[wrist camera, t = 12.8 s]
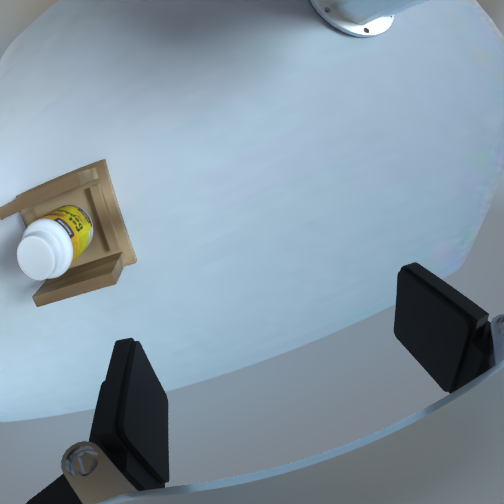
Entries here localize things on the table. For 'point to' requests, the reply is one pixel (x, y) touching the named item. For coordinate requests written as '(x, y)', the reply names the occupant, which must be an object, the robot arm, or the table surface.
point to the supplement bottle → (54, 242)
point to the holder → (104, 230)
